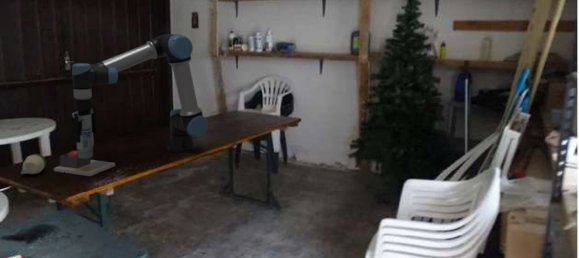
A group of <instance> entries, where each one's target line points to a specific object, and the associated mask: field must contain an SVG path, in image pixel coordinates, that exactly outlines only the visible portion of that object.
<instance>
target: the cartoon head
mask: <svg viewBox="0 0 579 258" xmlns="http://www.w3.org/2000/svg"><path fill="white" fill-rule="evenodd" d="M46 166H47V161H46V158H45V157H44V156H43V155H42V154H39V153H33V154H30V155H29V156H27V157H26V158H25V160H24V161H23V164H22V167H21V172H20V175H24V174H26V175H27V174H28V175H35V174H37V175H38V174H39V173H41V172H42V171H43V170H44V169H45V168H46Z"/></svg>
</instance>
